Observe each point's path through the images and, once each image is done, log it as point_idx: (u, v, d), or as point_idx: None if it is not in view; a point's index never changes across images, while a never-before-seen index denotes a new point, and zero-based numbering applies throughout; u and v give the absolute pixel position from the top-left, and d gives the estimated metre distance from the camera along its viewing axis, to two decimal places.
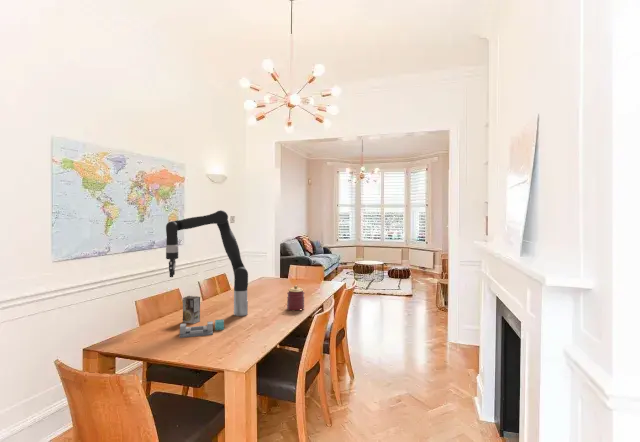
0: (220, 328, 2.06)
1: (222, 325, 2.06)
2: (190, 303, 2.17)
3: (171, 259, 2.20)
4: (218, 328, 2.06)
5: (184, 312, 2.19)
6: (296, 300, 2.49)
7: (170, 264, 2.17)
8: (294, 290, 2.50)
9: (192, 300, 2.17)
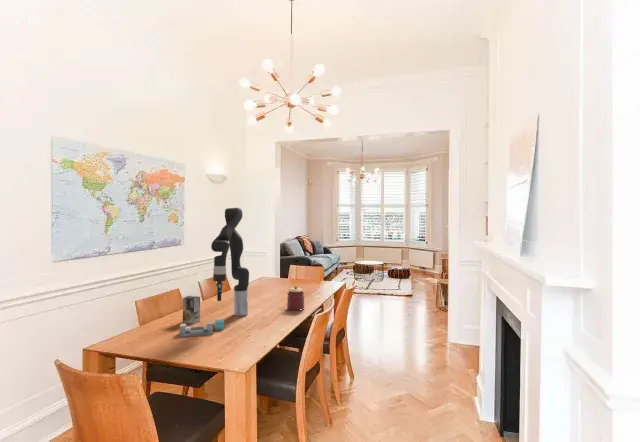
0: (220, 328, 2.06)
1: (222, 325, 2.06)
2: (190, 303, 2.17)
3: (219, 281, 2.04)
4: (218, 328, 2.06)
5: (184, 312, 2.19)
6: (296, 300, 2.49)
7: (219, 287, 2.01)
8: (294, 290, 2.50)
9: (192, 300, 2.17)
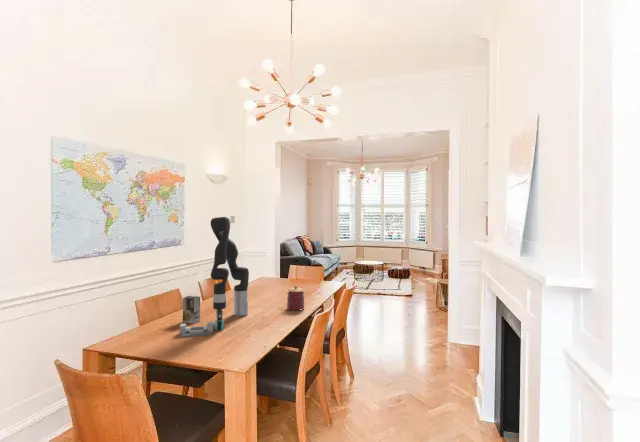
0: None
1: (222, 325, 2.06)
2: (190, 303, 2.17)
3: (219, 309, 2.05)
4: None
5: (184, 312, 2.19)
6: (296, 300, 2.49)
7: (219, 317, 2.02)
8: (294, 290, 2.50)
9: (192, 300, 2.17)
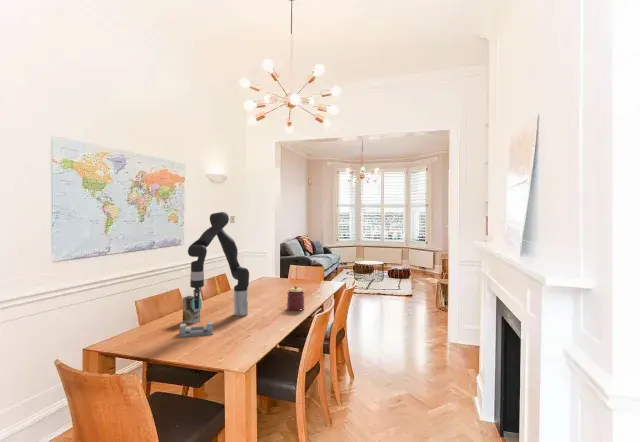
0: None
1: (199, 304, 1.98)
2: (190, 303, 2.17)
3: (196, 288, 1.97)
4: None
5: (184, 312, 2.19)
6: (296, 300, 2.49)
7: (196, 295, 1.94)
8: (294, 290, 2.50)
9: None
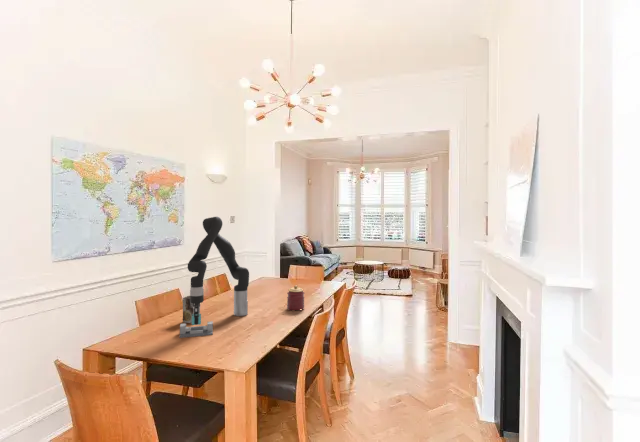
0: None
1: (199, 319, 1.99)
2: (190, 303, 2.17)
3: (196, 303, 1.97)
4: None
5: (184, 312, 2.19)
6: (296, 300, 2.49)
7: (195, 311, 1.94)
8: (294, 290, 2.50)
9: None
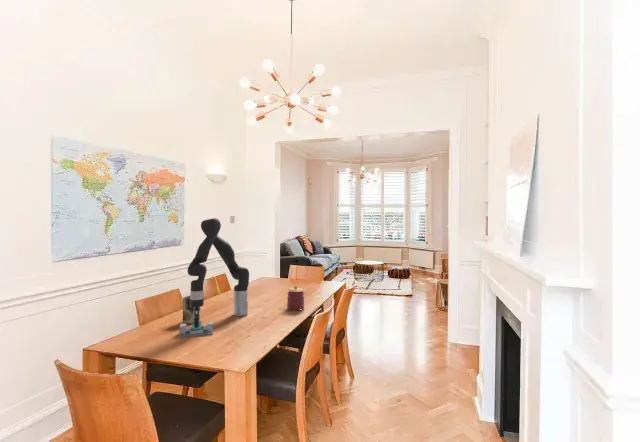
0: None
1: (199, 327, 1.99)
2: None
3: (196, 307, 1.97)
4: (195, 330, 1.98)
5: (184, 312, 2.19)
6: (296, 300, 2.49)
7: (195, 314, 1.94)
8: (294, 290, 2.50)
9: None
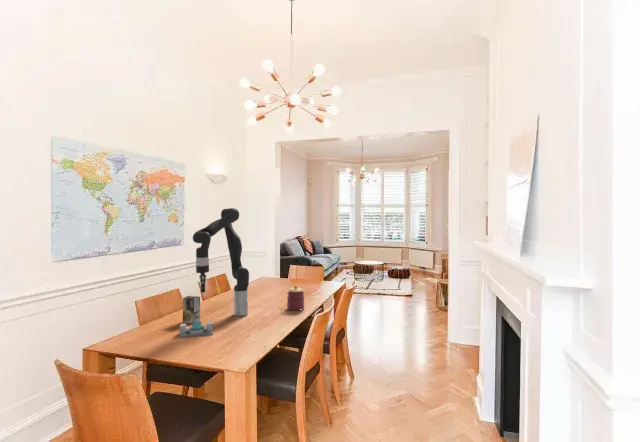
0: None
1: (199, 327, 1.99)
2: (190, 303, 2.17)
3: (202, 273, 2.03)
4: (195, 330, 1.98)
5: (184, 312, 2.19)
6: (296, 300, 2.49)
7: (202, 279, 2.00)
8: (294, 290, 2.50)
9: (192, 300, 2.17)
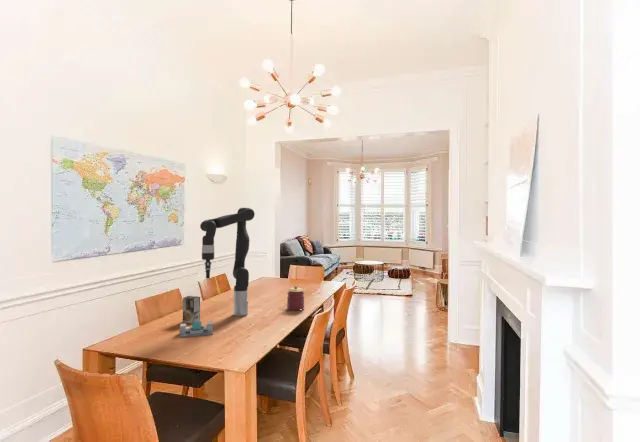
0: None
1: (199, 327, 1.99)
2: (190, 303, 2.17)
3: (207, 260, 2.12)
4: (195, 330, 1.98)
5: (184, 312, 2.19)
6: (296, 300, 2.49)
7: (207, 265, 2.09)
8: (294, 290, 2.50)
9: (192, 300, 2.17)
